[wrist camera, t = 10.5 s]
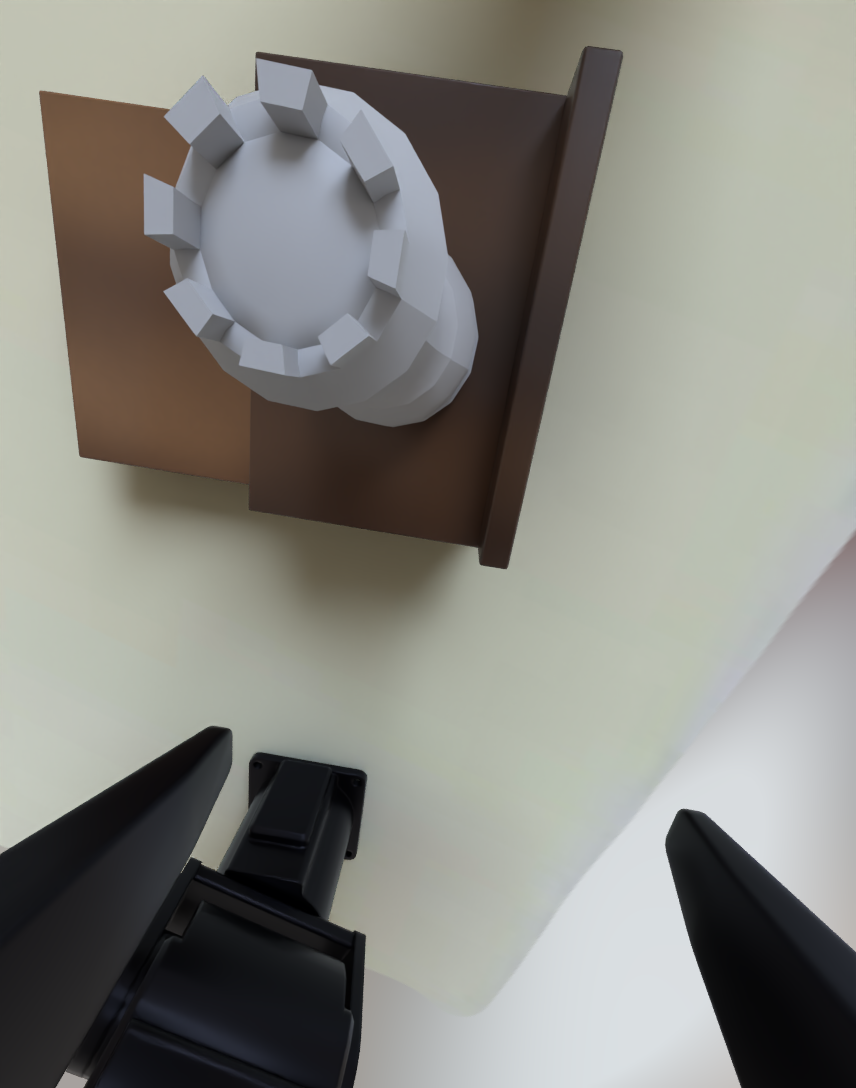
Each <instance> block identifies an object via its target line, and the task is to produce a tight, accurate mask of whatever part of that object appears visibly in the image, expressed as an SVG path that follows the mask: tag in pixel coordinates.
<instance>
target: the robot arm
mask: <svg viewBox="0 0 856 1088" xmlns="http://www.w3.org/2000/svg"><path fill="white" fill-rule="evenodd" d="M259 762H260V763H259ZM231 765H232V731H231V730H230V729H229V728H224V727H218V726H210V727H207V728H206V729H204V730H202V731H201V732H199V733H197V734H196V735H194V736H193V737H191V738H189V739H188V740H186V741H184V742H183V743H181V744H180V745H178V746H176V747H175V748H173V749H171V750H170V751H168V752H166V753H165V754H163V755H162V756H160V757H158V758H157V759H155V760H153V761H152V762H150V763H148V764H147V765H145V766H144V767H142V768H140V769H139V770H137V771H135V772H134V773H132V774H130V775H129V776H127V777H126V778H124V779H122V780H121V781H119V782H117V783H116V784H114V785H112V786H111V787H109V788H108V789H106V790H104V791H103V792H101V793H99V794H98V795H96V796H94V797H93V798H91V799H90V800H88V801H86V802H85V803H83V804H81V805H80V806H78V807H77V808H75V809H73V810H72V811H70V812H68V813H67V814H65V815H63V816H62V817H60V818H59V819H57V820H55V821H54V822H52V823H50V824H49V825H47V826H45V827H44V828H42V829H41V830H39V831H37V832H36V833H34V834H32V835H31V836H29V837H27V838H26V839H24V840H23V841H21V842H19V843H18V844H16V845H14V846H13V847H11V848H9V849H8V850H6V851H5V852H3V853H2V854H0V1088H55V1087H56V1086H57V1084H58V1082H59V1081H60V1079H61V1077H62V1076H63V1074H64V1072H65V1071H66V1072H68V1073H71V1074H73V1075H76V1076H78V1077H82V1078H85V1079H88V1081H87V1082H86V1084H85V1086H84V1088H353V1085H354V1080H355V1076H356V1071H357V1065H358V1059H359V1052H360V1042H361V1028H362V1006H363V985H364V963H365V942H366V935H364V934H362V933H360V932H358V931H353V932H351V931H349V930H347V929H345V928H342V927H340V926H338V925H336V924H334V923H331V922H329V921H328V919H329V915H330V911H331V907H332V903H333V899H334V895H335V892H336V888H337V884H338V880H339V876H340V872H341V868H342V864H343V860H344V859H346V860H351V859H354V858H355V857H356V854H357V849H358V842H359V835H360V828H361V820H362V813H363V805H364V798H365V790H366V783H367V775H366V774H365V773H364V772H363V771H361V770H357V769H351V768H346V767H340V766H334V765H329V764H323V763H317V762H312V761H306V760H300V759H295V758H289V757H283V756H278V755H272V754H267V753H256V754H254V755H253V757H252V759H251V760H250V763H249V806H248V812H247V814H246V816H245V817H244V819H243V821H242V823H241V825H240V827H239V829H238V831H237V833H236V835H235V837H234V839H233V841H232V843H231V845H230V846H229V848H228V850H227V852H226V854H225V856H224V858H223V860H222V862H221V864H220V866H219V868H218V870H217V871H215V870H213V869H211V868H208V867H206V866H204V865H202V864H201V863H202V862H201V861H199V860H197V859H195V858H192V857H191V858H190V860H189V861H188V863H187V865H186V866H185V864H186V862H187V860H188V859H189V857H190V855H191V853H192V851H193V849H194V847H195V845H196V843H197V841H198V839H199V837H200V834H201V832H202V830H203V828H204V826H205V824H206V821H207V819H208V817H209V815H210V813H211V811H212V808H213V806H214V804H215V802H216V800H217V798H218V796H219V793H220V791H221V789H222V787H223V785H224V783H225V780H226V778H227V776H228V774H229V772H230V769H231ZM356 779H358V780H356ZM665 846H666V853H667V856H668V860H669V864H670V868H671V871H672V876H673V879H674V883H675V887H676V891H677V895H678V898H679V902H680V906H681V910H682V913H683V917H684V921H685V925H686V929H687V932H688V936H689V939H690V942H691V946H692V949H693V952H694V955H695V957H696V961H697V964H698V967H699V969H700V972H701V975H702V978H703V980H704V983H705V986H706V989H707V992H708V995H709V998H710V1000H711V1003H712V1006H713V1009H714V1012H715V1015H716V1017H717V1020H718V1023H719V1026H720V1029H721V1032H722V1034H723V1037H724V1040H725V1043H726V1045H727V1048H728V1051H729V1054H730V1057H731V1060H732V1063H733V1066H734V1068H735V1071H736V1074H737V1077H738V1080H739V1082H740V1085H741V1088H856V952H855V951H854V950H853V949H852V948H851V947H850V946H849V945H847V944H846V943H845V942H844V941H843V940H842V939H841V938H840V937H839V936H838V935H837V934H836V933H834V932H833V931H832V930H831V929H830V928H829V927H828V926H827V925H826V924H825V923H824V922H823V921H821V920H820V919H819V918H818V917H817V916H816V915H815V914H814V913H813V912H811V911H810V910H809V909H808V908H807V907H806V906H805V905H804V904H803V903H802V902H801V901H800V900H799V899H797V898H796V897H795V896H794V895H793V894H792V893H791V892H790V891H789V890H788V889H787V888H785V887H784V886H783V885H782V884H781V883H780V882H779V881H778V880H777V879H776V878H775V877H773V876H772V875H771V874H770V873H769V872H768V871H767V870H766V869H765V868H764V867H763V866H762V865H760V864H759V863H758V862H757V861H756V860H755V859H754V858H753V857H751V856H750V854H748V853H747V852H746V851H745V850H744V849H743V848H742V847H741V846H740V845H739V844H737V843H736V842H735V841H734V840H733V839H732V838H731V837H730V836H729V835H727V833H726V832H724V831H723V830H722V829H721V828H720V827H719V826H718V825H717V824H716V823H715V822H714V821H712V820H711V819H710V818H709V817H708V816H707V815H706V814H704V813H702V812H699V811H694V810H689V809H681V810H679V811H678V812H677V814H676V816H675V819H674V821H673V823H672V825H671V827H670V830H669V832H668V834H667V837H666V843H665ZM184 866H185V868H184ZM183 868H184V870H183V871H182V869H183ZM181 871H182V873H181ZM68 1065H69V1066H68ZM66 1069H67V1070H66Z"/></svg>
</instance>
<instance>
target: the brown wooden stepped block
mask: <svg viewBox="0 0 856 1088" xmlns="http://www.w3.org/2000/svg"><path fill="white" fill-rule="evenodd" d="M256 58H258V59H262V60H267V61H272V62H276V63H281V64H286V65H290V66H295V67H300V68H304V69H309V70H312V71H313V73H314V75H315V77H316V80H317V82H318V84H319V85H321V86H326V87H330V88H335V89H340V90H344V91H349V92H354V93H355V94H356V95H357V96H359V97H360V98H361V99H362V100H364V101H365V102H366V103H367V104H369V105H370V106H371V107H372V108H374V109H375V110H376V111H377V112H379V113H380V114H381V115H382V116H384V117H385V118H386V119H387V120H389V121H390V122H391V123H392V124H394V125H395V126H396V127H397V128H399V129H400V130H401V131H402V132H404V133H405V134H406V136H407V138H408V140H409V142H410V143H411V145H412V147H413V149H414V151H415V152H416V154H417V156H418V158H419V160H420V161H421V163H422V165H423V167H424V169H425V171H426V172H427V174H428V176H429V178H430V180H431V181H432V183H433V185H434V187H435V189H436V190H437V192H438V195H439V202H440V208H441V215H442V221H443V227H444V234H445V240H446V247H447V253H448V255H449V256H450V257H452V259H453V261H454V263H455V264H456V266H457V268H458V270H459V272H460V273H461V275H462V277H463V279H464V280H465V282H466V284H467V286H468V288H469V289H470V291H471V294H472V298H473V302H474V309H475V316H476V323H477V330H478V337H479V338H478V342H477V347H476V351H475V356H474V360H473V365H472V369H471V374H470V375H469V377H468V378H467V380H466V381H465V383H464V384H463V386H462V387H461V389H460V390H459V392H458V393H457V395H456V396H455V398H454V399H453V401H452V402H451V403H450V404H448V405H447V406H445V407H444V408H443V409H441V410H440V411H438V412H437V413H435V414H434V415H432V416H431V417H429V418H428V419H426V420H425V421H422V422H417V423H412V424H407V425H402V426H397V427H390V426H384V425H379V424H374V423H370V422H365V421H360V420H356V419H354V418H353V417H351V416H350V415H348V414H347V413H346V412H344V411H343V410H341V409H340V408H338V407H334V408H330V409H325V410H320V411H314V410H310V409H305V408H300V407H296V406H291V405H286V404H282V403H277V402H273V401H268V400H266V399H265V398H263V397H262V396H261V395H259V394H258V393H256V392H255V391H253V390H252V389H250V388H249V387H247V386H246V385H244V384H243V383H241V382H240V381H238V380H237V379H235V378H234V377H232V376H231V375H230V374H228V373H227V372H225V371H224V370H223V369H222V368H221V366H220V365H219V364H218V362H217V361H216V360H215V358H214V357H213V355H212V354H211V353H210V351H209V350H208V349H207V347H206V346H205V345H204V343H203V342H202V340H201V339H200V338H199V337H197V336H196V335H195V334H194V333H193V331H192V330H191V328H190V327H189V326H188V324H187V323H186V322H185V320H184V319H183V318H182V316H181V315H180V313H179V312H178V311H177V309H176V308H175V307H174V305H173V304H172V303H171V301H170V300H169V299H168V297H167V296H166V294H165V293H164V292H163V291H165V290H167V289H168V288H170V287H172V286H174V285H176V282H175V279H174V276H173V272H172V269H171V266H170V248H169V247H167V246H165V245H163V244H161V243H159V242H157V241H156V240H154V239H152V238H150V237H148V236H146V235H144V174H146V175H148V176H151V177H153V178H155V179H157V180H159V181H162V182H164V183H166V184H168V185H170V186H172V187H174V188H175V187H176V184H177V182H178V179H179V176H180V174H181V171H182V168H183V166H184V163H185V160H186V158H187V155H188V152H189V150H190V147H191V145H190V144H189V143H188V142H187V141H186V140H185V139H184V138H183V137H182V136H181V135H180V133H179V132H178V131H177V130H176V129H175V128H174V127H173V126H172V125H171V124H170V123H169V122H168V121H167V120H166V119H165V117H164V116H165V115H166V114H167V113H168V111H169V110H170V109H164V108H157V107H150V106H143V105H136V104H130V103H123V102H116V101H109V100H102V99H95V98H88V97H81V96H75V95H68V94H61V93H54V92H47V91H40V92H39V95H40V104H41V113H42V122H43V131H44V140H45V149H46V158H47V167H48V176H49V185H50V194H51V204H52V213H53V222H54V231H55V240H56V249H57V258H58V267H59V276H60V285H61V294H62V303H63V312H64V321H65V330H66V339H67V348H68V357H69V366H70V375H71V384H72V393H73V402H74V411H75V420H76V429H77V438H78V447H79V455H80V457H83V458H89V459H95V460H102V461H108V462H114V463H120V464H126V465H132V466H138V467H144V468H150V469H157V470H163V471H169V472H175V473H181V474H187V475H193V476H199V477H205V478H212V479H218V480H224V481H230V482H236V483H242V484H248V485H249V510H252V511H258V512H264V513H270V514H276V515H283V516H289V517H295V518H301V519H307V520H313V521H319V522H325V523H331V524H337V525H343V526H349V527H355V528H361V529H367V530H373V531H380V532H386V533H392V534H398V535H404V536H410V537H416V538H422V539H428V540H434V541H440V542H446V543H452V544H458V545H464V546H470V547H477V548H478V554H479V562H480V565H483V566H489V567H495V568H501V569H507V568H508V565H509V561H510V556H511V552H512V547H513V543H514V538H515V534H516V530H517V525H518V521H519V516H520V512H521V507H522V503H523V498H524V494H525V490H526V485H527V481H528V476H529V472H530V467H531V463H532V459H533V454H534V450H535V445H536V441H537V436H538V432H539V428H540V423H541V419H542V414H543V410H544V405H545V401H546V396H547V392H548V388H549V383H550V379H551V374H552V370H553V365H554V361H555V357H556V352H557V348H558V343H559V339H560V334H561V330H562V325H563V321H564V317H565V312H566V308H567V303H568V299H569V294H570V290H571V286H572V281H573V277H574V272H575V268H576V263H577V259H578V255H579V250H580V246H581V241H582V237H583V232H584V228H585V223H586V219H587V215H588V210H589V206H590V201H591V197H592V192H593V188H594V184H595V179H596V175H597V170H598V166H599V161H600V157H601V152H602V148H603V144H604V139H605V135H606V130H607V126H608V121H609V117H610V113H611V108H612V104H613V99H614V95H615V90H616V86H617V82H618V77H619V73H620V68H621V64H622V59H623V52H622V51H620V50H613V49H606V48H599V47H592V46H587V47H585V48H584V49H583V51H582V54H581V57H580V60H579V62H578V65H577V68H576V71H575V74H574V77H573V80H572V82H571V85H570V88H569V91H568V94H567V96H565V95H558V94H551V93H544V92H537V91H530V90H523V89H516V88H509V87H502V86H495V85H488V84H481V83H474V82H467V81H460V80H453V79H446V78H439V77H432V76H425V75H418V74H411V73H403V72H396V71H389V70H382V69H375V68H368V67H361V66H354V65H347V64H340V63H333V62H326V61H319V60H312V59H305V58H298V57H291V56H284V55H277V54H270V53H263V52H256ZM258 90H259V87H258V76H257V65H256V69H255V91H258Z"/></svg>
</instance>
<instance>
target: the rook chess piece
mask: <svg viewBox="0 0 856 1088" xmlns="http://www.w3.org/2000/svg"><path fill="white" fill-rule="evenodd" d="M256 65H257V76H258V87H259V90H258V91H254V92H251V93H248V94H245V95H242V96H238V97H236V98H235V99H234V100H233V101H232V102H231V103H230V104H229V105H228V106H227V105H226V103H225V102H224V101H223V100H222V98H221V97H220V96H219V94H218V93H217V92H216V91H215V89H214V88H213V87H212V86H211V84H210V83H209V82H208V81H207V79H206V78H205V77H204V76H202V77H201V78H200V79H199V80H198V81H197V82H196V83H195V84H194V85H193V86H192V87H191V88H190V89H189V90H188V91H187V92H186V94H185V95H184V96H183V97H182V98H181V99H180V100H179V101H178V102H177V103H176V104H175V105H174V106H173V107H172V108H171V109H170V110H169V111H168V113H167V114H166V115H165V116H164V117H165V119H166V120H167V121H168V122H169V123H170V124H171V125H172V126H173V127H174V128H175V129H176V130H177V131H178V132H179V133H180V135H181V136H182V137H183V138H184V139H185V140H186V141H187V142H188V143H189V144H190V145H191V147H190V150H189V152H188V155H187V158H186V160H185V163H184V166H183V168H182V171H181V174H180V176H179V179H178V182H177V184H176V187H175V188H174V187H172V186H170V185H168V184H166V183H164V182H162V181H159V180H157V179H155V178H153V177H151V176H148V175H146V174H144V235H146V236H148V237H150V238H152V239H154V240H156V241H157V242H159V243H161V244H163V245H165V246H167V247H169V248H170V266H171V269H172V272H173V276H174V279H175V282H176V285H174V286H172V287H170V288H168V289H167V290H165V291H163V292H164V293H165V294H166V296H167V297H168V299H169V300H170V301H171V303H172V304H173V305H174V307H175V308H176V309H177V311H178V312H179V313H180V315H181V316H182V318H183V319H184V320H185V322H186V323H187V324H188V326H189V327H190V328H191V330H192V331H193V333H194V334H195V335H196V336H197V337H199V338H200V339H201V340H202V342H203V343H204V345H205V346H206V347H207V349H208V350H209V351H210V353H211V354H212V355H213V357H214V358H215V360H216V361H217V362H218V364H219V365H220V366H221V368H222V369H223V370H224V371H225V372H227V373H228V374H230V375H231V376H232V377H234V378H235V379H237V380H238V381H240V382H241V383H243V384H244V385H246V386H247V387H249V388H250V389H252V390H253V391H255V392H256V393H258V394H259V395H261V396H262V397H263V398H265V399H266V400H268V401H273V402H277V403H282V404H286V405H291V406H296V407H300V408H305V409H310V410H314V411H320V410H325V409H330V408H334V407H338V408H340V409H341V410H343V411H344V412H346V413H347V414H348V415H350V416H351V417H353V418H354V419H356V420H360V421H365V422H370V423H374V424H379V425H384V426H390V427H397V426H402V425H407V424H412V423H417V422H422V421H425V420H426V419H428V418H429V417H431V416H432V415H434V414H435V413H437V412H438V411H440V410H441V409H443V408H444V407H445V406H447V405H448V404H450V403H451V402H452V401H453V399H454V398H455V396H456V395H457V393H458V392H459V390H460V389H461V387H462V386H463V384H464V383H465V381H466V380H467V378H468V377H469V375H470V374H471V369H472V365H473V360H474V356H475V351H476V347H477V342H478V338H479V337H478V330H477V323H476V316H475V309H474V302H473V298H472V294H471V291H470V289H469V288H468V286H467V284H466V282H465V280H464V279H463V277H462V275H461V273H460V272H459V270H458V268H457V266H456V264H455V263H454V261H453V259H452V257H450V256H449V255H448V253H447V247H446V240H445V234H444V227H443V221H442V215H441V208H440V202H439V195H438V192H437V190H436V189H435V187H434V185H433V183H432V181H431V180H430V178H429V176H428V174H427V172H426V171H425V169H424V167H423V165H422V163H421V161H420V160H419V158H418V156H417V154H416V152H415V151H414V149H413V147H412V145H411V143H410V142H409V140H408V138H407V136H406V134H405V133H404V132H402V131H401V130H400V129H399V128H397V127H396V126H395V125H394V124H392V123H391V122H390V121H389V120H387V119H386V118H385V117H384V116H382V115H381V114H380V113H379V112H377V111H376V110H375V109H374V108H372V107H371V106H370V105H369V104H367V103H366V102H365V101H364V100H362V99H361V98H360V97H359V96H357V95H356V94H355V93H354V92H349V91H344V90H340V89H335V88H330V87H326V86H321V85H319V84H318V82H317V80H316V77H315V75H314V73H313V71H312V70H309V69H304V68H300V67H295V66H290V65H286V64H281V63H276V62H272V61H267V60H262V59H258V58H256Z"/></svg>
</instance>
